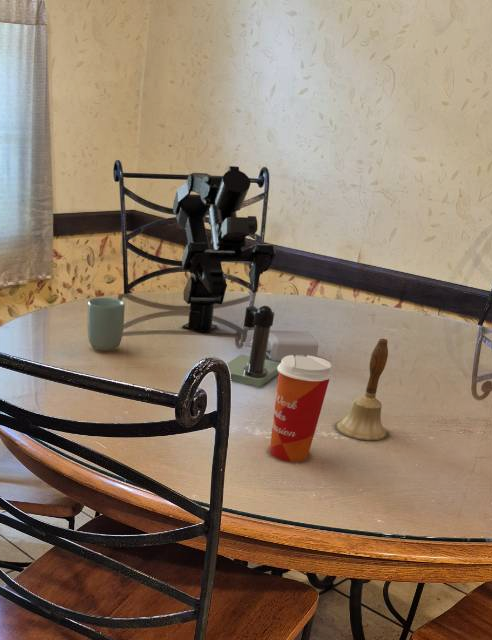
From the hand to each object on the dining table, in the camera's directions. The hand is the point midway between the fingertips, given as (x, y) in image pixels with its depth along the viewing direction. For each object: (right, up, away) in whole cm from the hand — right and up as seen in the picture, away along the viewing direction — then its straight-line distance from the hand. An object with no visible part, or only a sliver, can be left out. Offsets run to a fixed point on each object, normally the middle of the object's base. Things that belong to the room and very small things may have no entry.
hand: (233, 291), depth 147 cm
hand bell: (+18, -32, -23) cm, 44 cm away
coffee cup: (+4, -37, -33) cm, 50 cm away
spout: (+3, -10, -6) cm, 13 cm away
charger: (+11, -11, +10) cm, 19 cm away
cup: (-27, -9, +9) cm, 30 cm away
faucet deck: (+3, -17, 0) cm, 17 cm away
